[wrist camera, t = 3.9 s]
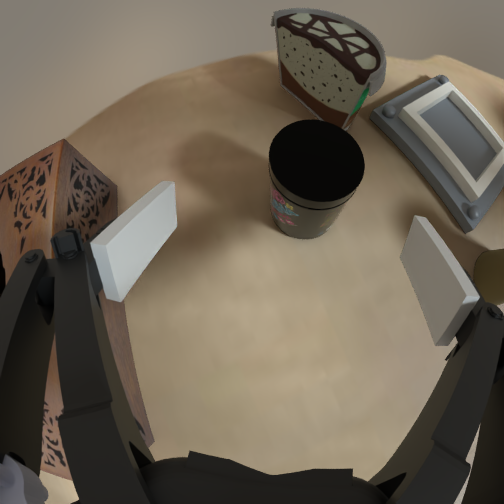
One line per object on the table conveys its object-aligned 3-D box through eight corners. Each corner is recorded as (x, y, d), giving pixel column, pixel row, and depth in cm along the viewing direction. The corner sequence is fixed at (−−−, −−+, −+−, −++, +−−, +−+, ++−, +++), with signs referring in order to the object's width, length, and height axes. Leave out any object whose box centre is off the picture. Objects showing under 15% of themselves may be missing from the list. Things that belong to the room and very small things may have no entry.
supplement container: (287, 169, 25) (292, 107, 17) (344, 196, 25) (375, 143, 16) (258, 223, 25) (250, 175, 16) (319, 253, 24) (345, 220, 15)
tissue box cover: (29, 220, 27) (-26, 194, 17) (118, 187, 27) (64, 138, 17) (53, 428, 22) (-3, 450, 12) (155, 440, 21) (104, 489, 11)
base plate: (511, 168, 24) (523, 159, 21) (465, 233, 23) (481, 225, 20) (436, 81, 27) (443, 67, 24) (369, 118, 26) (376, 101, 23)
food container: (385, 124, 26) (417, 61, 16) (348, 148, 26) (376, 79, 16) (311, 61, 29) (317, -3, 19) (272, 78, 28) (270, 9, 18)
